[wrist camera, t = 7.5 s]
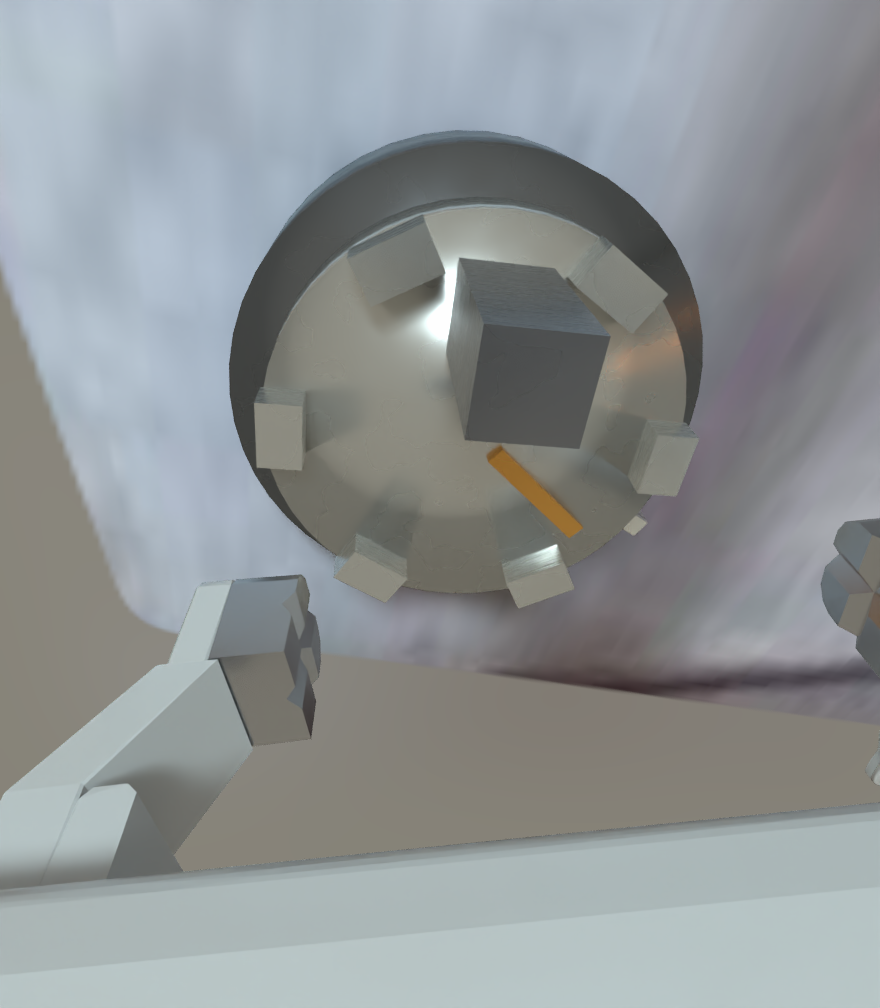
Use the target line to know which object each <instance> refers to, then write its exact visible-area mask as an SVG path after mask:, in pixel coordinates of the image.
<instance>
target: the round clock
mask: <svg viewBox="0 0 880 1008" xmlns="http://www.w3.org/2000/svg"><path fill="white" fill-rule="evenodd" d="M667 295H668V293H667V292H665V291H664V290H663V289H662V288H661V287H660V286H659V285H658V284H656V283H655V282H654V281H653V280H652V279H651V278H650V277H649V276H648V275H646V274H645V273H644V272H643V271H642V270H641V269H640V268H639V267H638V266H636V265H635V264H634V263H633V262H632V261H631V260H630V259H629V258H628V257H626V256H625V255H624V254H623V253H622V252H621V251H620V250H619V249H618V248H616V247H615V246H614V245H613V244H612V243H611V242H609V241H608V240H607V239H606V238H604V237H603V236H601V237H599V236H598V235H597V234H596V233H594V232H593V231H592V230H590V229H589V228H588V227H586V226H584V225H582V224H580V223H578V222H577V221H575V220H573V219H571V218H569V217H567V216H566V215H564V214H561V213H559V212H556V211H553V210H550V209H548V208H545V207H542V206H539V205H537V204H532V203H527V202H523V201H518V200H513V199H508V198H493V197H465V198H454V199H444V200H440V201H436V202H431V203H427V204H423V205H419V206H415V207H412V208H409V209H407V210H404V211H402V212H399V213H397V214H394V215H392V216H389V217H386V218H384V219H383V220H381V221H379V222H377V223H376V224H374V225H372V226H370V227H368V228H367V229H365V230H363V231H361V232H360V233H358V234H357V235H356V236H354V237H353V238H352V239H350V240H349V241H348V242H346V243H345V244H344V245H343V246H341V247H340V248H339V249H337V250H336V251H335V252H334V253H333V254H332V255H331V256H330V257H329V258H328V259H327V260H326V261H325V262H324V263H323V264H322V265H321V266H320V267H319V268H318V269H317V270H316V271H315V272H314V274H313V275H312V276H311V278H310V279H309V281H308V282H307V283H306V285H305V286H304V287H303V289H302V290H301V291H300V293H299V294H298V296H297V298H296V300H295V301H294V303H293V305H292V307H291V309H290V311H289V313H288V315H287V317H286V318H285V321H284V323H283V326H282V328H281V331H280V333H279V336H278V339H277V341H276V344H275V347H274V350H273V353H272V355H271V358H270V361H269V364H268V367H267V372H266V377H265V382H264V387H260V389H259V391H258V394H257V397H256V399H255V402H254V412H255V438H256V463H257V468H270V469H271V472H272V474H273V476H274V479H275V481H276V484H277V486H278V488H279V491H280V492H281V494H282V496H283V497H284V499H285V501H286V502H287V504H288V506H289V507H290V509H291V511H292V512H293V513H294V515H295V516H296V517H297V518H298V520H299V521H300V522H301V523H302V525H303V526H304V527H305V528H306V529H307V530H308V531H309V532H310V533H311V534H312V535H313V536H314V537H315V538H316V539H317V540H318V541H319V542H320V543H321V544H322V545H323V546H324V547H326V548H327V549H328V550H330V551H331V552H332V553H334V554H335V555H336V558H335V568H334V578H336V579H338V580H340V581H342V582H344V583H346V584H348V585H350V586H352V587H354V588H356V589H358V590H360V591H362V592H364V593H366V594H368V595H370V596H372V597H374V598H376V599H378V600H380V601H382V602H385V603H386V602H387V601H388V600H389V599H390V597H391V596H392V595H393V594H394V593H395V592H396V591H397V590H398V589H399V588H400V587H401V586H404V587H409V588H414V589H419V590H424V591H432V592H442V593H478V592H488V591H496V590H501V589H506V588H509V590H510V592H511V594H512V596H513V598H514V601H515V603H516V605H517V607H518V609H519V608H522V607H525V606H528V605H530V604H533V603H536V602H539V601H542V600H545V599H547V598H550V597H553V596H556V595H559V594H562V593H565V592H567V591H570V590H573V589H574V586H573V583H572V580H571V578H570V575H569V572H568V569H567V567H569V566H571V565H573V564H575V563H577V562H579V561H581V560H582V559H584V558H586V557H587V556H589V555H590V554H592V553H593V552H595V551H596V550H597V549H599V548H600V547H602V546H603V545H605V544H606V543H607V542H608V541H609V540H611V539H612V538H613V537H614V536H615V535H617V534H618V533H619V532H620V531H621V530H622V529H623V528H624V527H625V526H626V525H627V524H628V523H629V522H630V521H631V520H632V519H633V518H634V517H635V516H636V515H637V514H638V513H639V511H640V510H641V509H642V507H643V506H644V505H645V504H646V502H647V501H648V500H649V498H650V497H651V496H652V495H666V496H677V494H678V491H679V488H680V486H681V483H682V481H683V478H684V476H685V473H686V471H687V468H688V466H689V463H690V460H691V458H692V455H693V453H694V450H695V448H696V445H697V443H698V440H699V438H698V437H697V436H696V434H695V433H694V432H693V431H692V430H691V428H690V427H689V426H688V425H687V424H686V423H684V422H683V419H684V413H685V407H686V371H685V364H684V356H683V351H682V348H681V344H680V341H679V337H678V334H677V330H676V327H675V325H674V323H673V321H672V319H671V317H670V315H669V312H668V310H667V308H666V306H665V304H664V302H663V300H664V299H665V298H666V296H667Z"/></svg>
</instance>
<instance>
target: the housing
mask: <svg viewBox="0 0 880 1008" xmlns="http://www.w3.org/2000/svg"><path fill="white" fill-rule="evenodd" d="M465 197H493V198H508V199H513V200H518V201H523V202H527V203H532V204H537V205H539V206H542V207H545V208H548V209H550V210H553V211H556V212H559V213H561V214H564V215H566V216H567V217H569V218H571V219H573V220H575V221H577V222H578V223H580V224H582V225H584V226H586V227H588V228H589V229H590V230H592V231H593V232H594V233H596V234H597V235H598V236H599V237H601V236H603V237H604V238H606V239H607V240H608V241H609V242H611V243H612V244H613V245H614V246H615V247H616V248H618V249H619V250H620V251H621V252H622V253H623V254H624V255H625V256H626V257H628V258H629V259H630V260H631V261H632V262H633V263H634V264H635V265H636V266H638V267H639V268H640V269H641V270H642V271H643V272H644V273H645V274H646V275H648V276H649V277H650V278H651V279H652V280H653V281H654V282H655V283H656V284H658V285H659V286H660V287H661V288H662V289H663V290H664V291H665V292H667V293H668V295H667V296H666V298H665V299H664V300H663V302H664V304H665V306H666V308H667V310H668V312H669V315H670V317H671V319H672V321H673V323H674V325H675V327H676V330H677V334H678V337H679V341H680V344H681V348H682V351H683V356H684V364H685V371H686V407H685V413H684V419H683V422H684V423H686V424H687V425H688V426H689V424H690V421H691V418H692V415H693V411H694V408H695V404H696V400H697V397H698V393H699V386H700V379H701V372H702V330H701V323H700V316H699V309H698V304H697V301H696V298H695V294H694V291H693V288H692V284H691V281H690V278H689V276H688V274H687V271H686V269H685V267H684V265H683V263H682V261H681V259H680V257H679V255H678V253H677V251H676V249H675V247H674V246H673V244H672V243H671V241H670V240H669V239H668V237H667V236H666V234H665V233H664V231H663V230H662V228H661V227H660V225H659V224H658V223H657V222H656V221H655V220H654V218H653V217H652V216H651V215H650V214H649V213H648V212H647V211H646V210H645V209H644V208H643V207H642V206H641V205H640V204H639V203H638V202H637V201H636V200H635V199H634V198H633V197H632V196H630V195H629V194H628V193H626V192H625V191H624V190H622V189H621V188H620V187H619V186H617V185H616V184H615V183H613V182H612V181H611V180H609V179H608V178H606V177H604V176H603V175H601V174H599V173H597V172H595V171H593V170H591V169H590V168H588V167H586V166H584V165H582V164H580V163H578V162H576V161H575V160H573V159H571V158H569V157H567V156H565V155H563V154H561V153H559V152H557V151H555V150H553V149H551V148H549V147H546V146H544V145H541V144H538V143H535V142H532V141H529V140H526V139H524V138H521V137H516V136H511V135H505V134H500V133H494V132H489V131H459V130H455V131H446V132H438V133H430V134H422V135H419V136H415V137H412V138H408V139H404V140H401V141H397V142H394V143H390V144H388V145H386V146H384V147H381V148H379V149H377V150H375V151H373V152H370V153H368V154H366V155H364V156H361V157H360V158H358V159H357V160H355V161H353V162H352V163H350V164H349V165H347V166H346V167H344V168H342V169H341V170H339V171H338V172H336V173H335V174H333V175H332V176H331V177H330V178H329V179H327V180H326V181H325V182H324V183H323V184H322V185H320V186H319V187H318V188H317V189H316V190H315V191H313V192H312V193H311V194H310V195H309V196H308V197H307V198H306V200H305V201H304V202H303V203H302V204H301V205H300V207H299V208H298V209H297V210H296V211H295V212H294V213H293V215H292V216H291V217H290V218H289V219H288V221H287V223H286V224H285V226H284V227H283V229H282V230H281V232H280V234H279V235H278V237H277V238H276V240H275V241H274V243H273V245H272V246H271V248H270V249H269V251H268V253H267V254H266V256H265V257H264V259H263V261H262V262H261V264H260V266H259V267H258V269H257V270H256V272H255V274H254V277H253V279H252V281H251V283H250V285H249V288H248V290H247V292H246V294H245V297H244V299H243V301H242V304H241V307H240V311H239V314H238V318H237V322H236V325H235V329H234V332H233V339H232V346H231V354H230V362H229V378H230V398H231V404H232V410H233V416H234V422H235V426H236V429H237V432H238V435H239V438H240V441H241V445H242V448H243V450H244V452H245V455H246V457H247V459H248V461H249V463H250V465H251V467H252V469H253V471H254V473H255V475H256V477H257V478H258V480H259V481H260V483H261V484H262V486H263V487H264V489H265V490H266V492H267V494H268V495H269V497H270V498H271V499H272V500H273V501H274V502H275V504H276V505H277V506H278V507H279V508H280V509H281V511H282V512H283V513H284V514H285V515H286V516H287V517H288V518H289V519H290V520H291V521H292V522H293V523H294V524H295V525H297V526H298V527H299V528H300V529H301V530H302V531H303V532H304V533H305V534H307V535H308V536H309V537H311V538H312V539H314V540H315V541H316V542H318V543H319V544H321V543H320V542H319V541H318V540H317V539H316V538H315V537H314V536H313V535H312V534H311V533H310V532H309V531H308V530H307V529H306V528H305V527H304V526H303V525H302V523H301V522H300V521H299V520H298V518H297V517H296V516H295V515H294V513H293V512H292V511H291V509H290V507H289V506H288V504H287V502H286V501H285V499H284V497H283V496H282V494H281V492H280V491H279V488H278V486H277V484H276V481H275V479H274V476H273V474H272V472H271V469H270V468H257V463H256V438H255V412H254V402H255V399H256V397H257V394H258V391H259V389H260V387H264V382H265V377H266V372H267V367H268V364H269V361H270V358H271V355H272V353H273V350H274V347H275V344H276V341H277V339H278V336H279V333H280V331H281V328H282V326H283V323H284V321H285V318H286V317H287V315H288V313H289V311H290V309H291V307H292V305H293V303H294V301H295V300H296V298H297V296H298V294H299V293H300V291H301V290H302V289H303V287H304V286H305V285H306V283H307V282H308V281H309V279H310V278H311V276H312V275H313V274H314V272H315V271H316V270H317V269H318V268H319V267H320V266H321V265H322V264H323V263H324V262H325V261H326V260H327V259H328V258H329V257H330V256H331V255H332V254H333V253H334V252H335V251H336V250H337V249H339V248H340V247H341V246H343V245H344V244H345V243H346V242H348V241H349V240H350V239H352V238H353V237H354V236H356V235H357V234H358V233H360V232H361V231H363V230H365V229H367V228H368V227H370V226H372V225H374V224H376V223H377V222H379V221H381V220H383V219H384V218H386V217H389V216H392V215H394V214H397V213H399V212H402V211H404V210H407V209H409V208H412V207H415V206H419V205H423V204H427V203H431V202H436V201H440V200H444V199H454V198H465ZM646 524H647V521H646V519H645V517H644V516H643V514H642V512H641V510H640V511H639V513H638V514H637V515H636V516H635V517H634V518H633V519H632V520H631V521H630V522H629V523H628V524H627V525H626V526H625V527H624V528H623V529H624V530H625V531H627V532H629V533H630V534H632V535H633V536H634V535H635V534H636V533H637V532H639V531H640V530H641V529H642V528H643V527H644V526H645V525H646ZM321 545H322V544H321ZM322 546H323V545H322ZM323 547H324V546H323ZM325 548H326V547H325ZM326 549H327V548H326Z"/></svg>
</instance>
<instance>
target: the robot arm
mask: <svg viewBox="0 0 880 1008" xmlns="http://www.w3.org/2000/svg"><path fill="white" fill-rule="evenodd" d="M833 544H834V546H835V547H836V549H837V551H838V552H839V555H838V556H837V557H835V558H834V559H833V560H832V561H831V562H830V563H829V564H828V565H827V566H826V567H825V570H824V574H823V577H822V581H821V590H822V598H823V602H824V605H825V607H826V609H827V611H828V614H829V615H830V616H831V617H832V619H833V620H834V621H835V623H836V624H837V625H838V626H839V627H841V628H843V629H845V630H847V631H849V632H850V633H852V634H854V635H856V636H857V639H856V649H857V651H858V652H859V653H860V654H861V655H862V657H863V658H864V659H865V660H866V662H867V663H868V664H869V665H870V667H871V668H872V669H873V670H874V672H875V673H876V674H877V675H878V677H879V678H880V518H877V519H867V520H858V521H848V522H845V523H844V524H843V525H842V526H841V527H840V529H839V530H838V532H837V534H836V537H835V540H834V543H833ZM309 597H310V593H309V590H308V587H307V583H306V580H305V578H304V577H303V576H302V575H289V576H276V577H263V578H249V579H237V580H236V581H235V580H229V581H217V582H204V583H202V584H201V585H200V586H199V587H198V588H197V589H196V591H195V593H194V596H193V599H192V601H191V604H190V606H189V609H188V612H187V614H186V617H185V619H184V622H183V624H182V627H181V630H180V632H179V635H178V637H177V640H176V643H175V645H174V648H173V651H172V653H171V656H170V658H169V661H168V663H167V664H165V665H157V666H156V667H155V668H153V669H152V670H151V671H150V672H148V673H147V674H146V675H145V676H144V677H142V678H141V679H140V680H139V681H138V682H137V683H135V684H134V685H133V686H132V687H130V688H129V689H128V690H127V691H126V692H124V693H123V694H122V695H121V696H120V697H119V698H117V699H116V700H115V701H114V702H113V703H111V704H110V705H109V706H108V707H107V708H105V709H104V710H103V711H102V712H101V713H99V714H98V715H97V716H96V717H95V718H93V719H92V720H91V721H90V722H89V723H88V724H86V725H85V726H84V727H83V728H82V729H80V730H79V731H78V732H77V733H76V734H74V735H73V736H72V737H71V738H70V739H68V740H67V741H66V742H65V743H64V744H62V745H61V746H60V747H59V748H58V749H56V750H55V751H54V752H53V753H52V754H50V755H49V756H48V757H47V758H46V759H45V760H43V761H42V762H41V763H40V764H38V765H37V766H36V767H35V768H34V769H32V770H31V771H30V772H29V773H28V774H26V775H25V776H24V777H23V778H22V779H21V780H20V781H18V782H17V783H16V784H15V785H13V786H12V787H11V788H10V789H9V790H7V791H6V792H5V793H4V795H3V797H2V799H1V801H0V1008H880V802H878V803H868V804H859V805H848V806H838V807H828V808H819V809H809V810H799V811H790V812H779V813H769V814H759V815H749V816H740V817H729V818H719V819H708V820H699V821H688V822H679V823H668V824H658V825H648V826H638V827H627V828H617V829H607V830H597V831H587V832H577V833H567V834H556V835H547V836H536V837H526V838H516V839H507V840H496V841H486V842H476V843H466V844H457V845H446V846H436V847H426V848H417V849H406V850H397V851H387V852H376V853H366V854H356V855H346V856H336V857H326V858H316V859H306V860H296V861H286V862H275V863H265V864H255V865H246V866H235V867H226V868H215V869H205V870H195V871H185V872H183V870H182V868H181V867H180V865H179V863H178V862H177V860H176V858H175V856H174V854H175V853H176V851H177V850H178V849H179V847H180V846H181V845H182V843H183V842H184V841H185V839H186V838H187V837H188V835H189V834H190V833H191V831H192V830H193V829H194V827H195V826H196V825H197V823H198V822H199V821H200V819H201V818H202V817H203V815H204V814H205V813H206V812H207V810H208V809H209V807H210V806H211V805H212V804H213V802H214V801H215V800H216V798H217V797H218V796H219V794H220V793H221V791H222V790H223V789H224V788H225V786H226V785H227V784H228V782H229V781H230V780H231V778H232V777H233V776H234V774H235V773H236V772H237V770H238V769H239V768H240V766H241V765H242V763H243V762H244V761H245V760H246V758H247V757H248V756H249V754H250V753H251V752H252V750H253V749H252V746H259V745H268V744H275V743H283V742H291V741H299V740H307V739H311V735H312V727H313V720H314V712H315V704H316V699H315V696H314V692H313V688H312V684H313V683H314V682H315V681H316V680H317V679H318V677H319V672H320V662H321V657H320V637H319V630H318V625H317V621H316V617H315V616H314V615H313V614H312V613H310V612H309V611H308V604H309ZM865 773H866V774H867V775H868V776H869V778H870V779H871V780H872V781H873V782H874V783H875V784H876V785H878V786H880V731H879V744H878V749H877V751H876V753H875V754H874V756H873V757H872V758H871V760H870V761H869V763H868V764H867V766H866V769H865Z"/></svg>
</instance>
